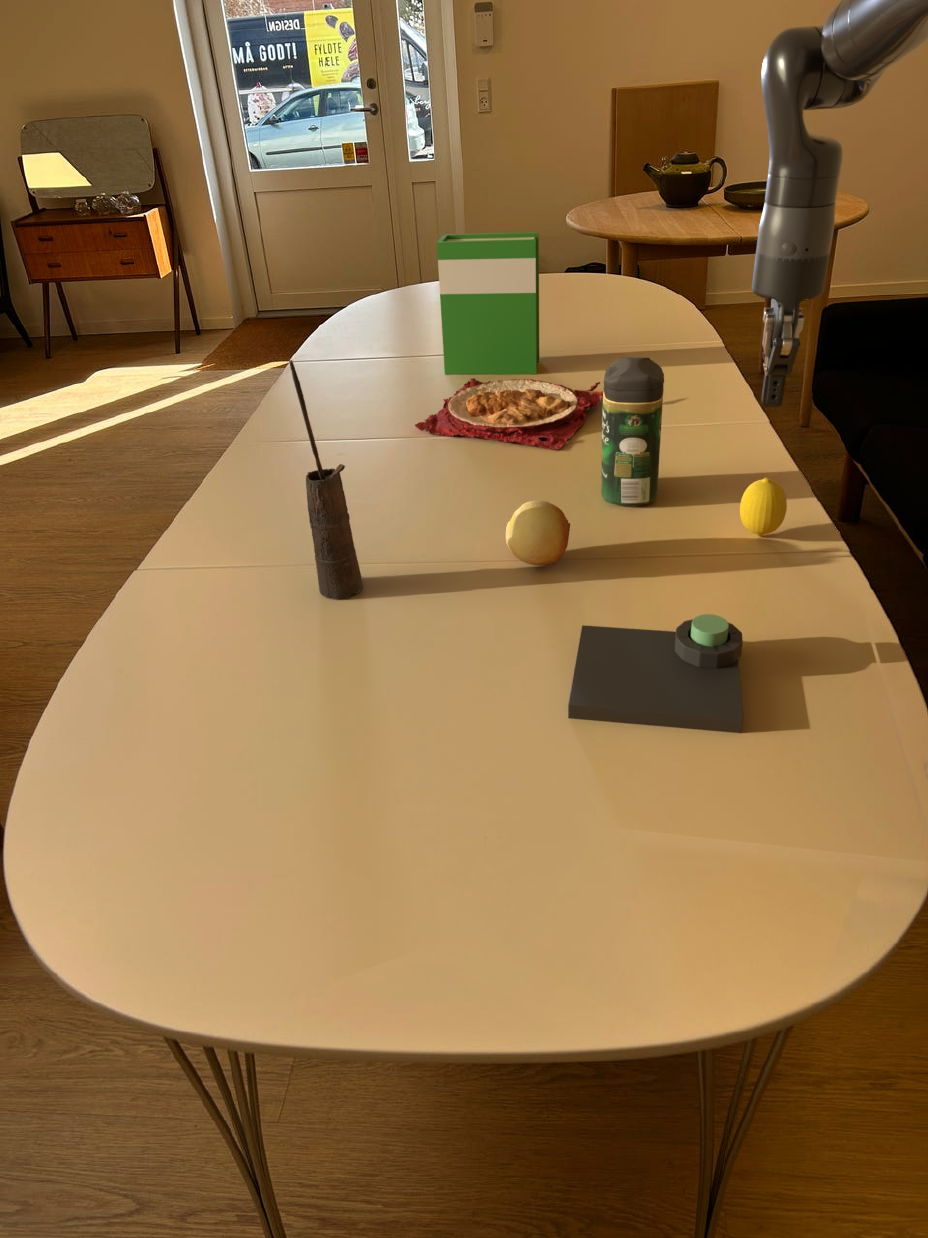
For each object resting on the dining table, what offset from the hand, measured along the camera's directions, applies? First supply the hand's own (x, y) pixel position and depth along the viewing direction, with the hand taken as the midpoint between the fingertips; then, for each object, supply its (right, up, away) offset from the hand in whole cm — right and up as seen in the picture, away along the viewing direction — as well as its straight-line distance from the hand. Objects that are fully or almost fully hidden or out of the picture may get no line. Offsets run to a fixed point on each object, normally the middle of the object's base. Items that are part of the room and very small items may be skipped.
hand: (771, 404), depth 108 cm
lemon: (+2, -15, +10) cm, 18 cm away
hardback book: (-30, +24, +73) cm, 83 cm away
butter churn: (-50, -21, +5) cm, 54 cm away
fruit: (-27, -18, +7) cm, 33 cm away
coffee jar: (-13, -8, +22) cm, 27 cm away
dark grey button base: (-17, -31, -15) cm, 38 cm away
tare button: (-11, -27, -14) cm, 32 cm away
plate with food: (-28, +9, +50) cm, 58 cm away
